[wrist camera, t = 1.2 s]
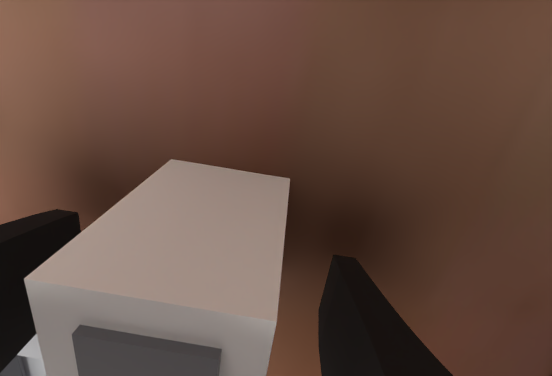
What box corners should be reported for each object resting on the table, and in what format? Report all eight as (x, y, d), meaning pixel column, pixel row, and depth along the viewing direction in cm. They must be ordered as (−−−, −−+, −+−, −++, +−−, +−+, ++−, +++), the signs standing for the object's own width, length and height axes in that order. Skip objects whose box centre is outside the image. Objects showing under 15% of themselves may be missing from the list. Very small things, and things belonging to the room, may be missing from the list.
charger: (290, 178, 10) (275, 332, 5) (273, 273, 12) (247, 475, 6) (171, 158, 10) (12, 287, 5) (170, 256, 12) (51, 440, 6)
